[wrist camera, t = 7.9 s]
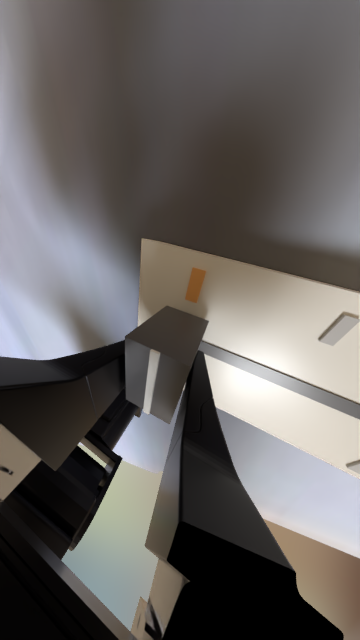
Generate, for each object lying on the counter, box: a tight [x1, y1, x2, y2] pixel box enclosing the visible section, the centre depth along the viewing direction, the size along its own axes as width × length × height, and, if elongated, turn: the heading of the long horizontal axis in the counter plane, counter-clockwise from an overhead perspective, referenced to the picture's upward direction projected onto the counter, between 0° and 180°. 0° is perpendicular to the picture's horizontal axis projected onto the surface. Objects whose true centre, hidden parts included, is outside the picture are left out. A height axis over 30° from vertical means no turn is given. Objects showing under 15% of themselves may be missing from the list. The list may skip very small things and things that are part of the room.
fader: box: [125, 305, 209, 424], centre depth 8 cm, size 5×3×4 cm, turn 167°
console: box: [138, 238, 360, 479], centre depth 10 cm, size 12×22×2 cm, turn 77°
